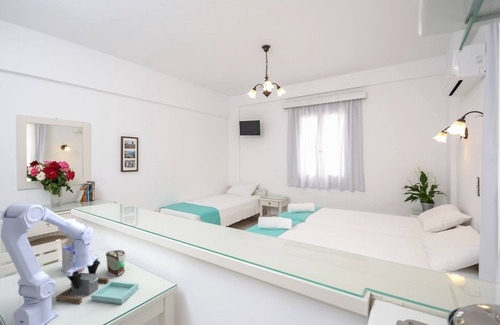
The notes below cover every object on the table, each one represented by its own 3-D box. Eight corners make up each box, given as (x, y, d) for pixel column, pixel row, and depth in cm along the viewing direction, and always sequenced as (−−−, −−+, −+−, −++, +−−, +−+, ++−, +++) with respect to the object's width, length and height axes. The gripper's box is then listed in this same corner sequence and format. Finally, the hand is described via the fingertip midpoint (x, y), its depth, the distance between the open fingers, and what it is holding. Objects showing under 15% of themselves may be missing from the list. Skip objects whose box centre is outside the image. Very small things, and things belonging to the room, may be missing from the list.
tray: (121, 304, 92) (121, 298, 92) (91, 301, 94) (91, 295, 94) (138, 289, 102) (138, 283, 102) (111, 286, 105) (110, 280, 105)
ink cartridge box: (85, 270, 119) (84, 242, 118) (73, 275, 114) (72, 247, 113) (73, 266, 123) (72, 239, 122) (61, 271, 118) (60, 243, 117)
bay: (79, 304, 93) (79, 299, 92) (56, 301, 94) (56, 296, 94) (108, 282, 108) (108, 278, 108) (88, 280, 110) (88, 276, 109)
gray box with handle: (91, 295, 98) (90, 280, 97) (71, 293, 99) (70, 278, 99) (99, 289, 102) (99, 274, 102) (80, 287, 104) (80, 272, 104)
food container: (131, 272, 117) (131, 253, 116) (119, 277, 111) (119, 258, 111) (118, 265, 123) (117, 247, 122) (106, 271, 118) (105, 252, 117)
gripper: (76, 262, 92) (77, 294, 93) (104, 246, 106) (105, 274, 107) (61, 260, 93) (62, 292, 94) (91, 245, 108) (92, 273, 108)
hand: (84, 283), depth 101 cm, fingers open, 7 cm apart
